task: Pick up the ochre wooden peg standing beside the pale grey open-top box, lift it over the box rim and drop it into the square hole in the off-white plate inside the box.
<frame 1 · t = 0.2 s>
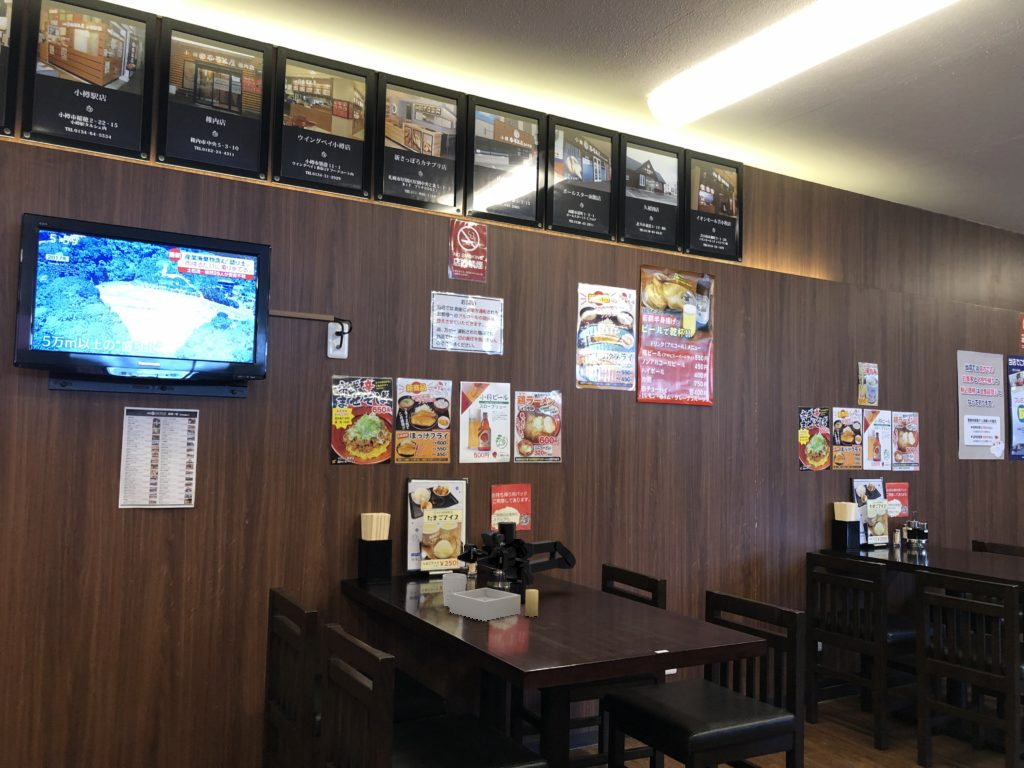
hand: (467, 559, 260), 17 cm above the table, tool horizontal, fingers open, 9 cm apart
peg: (531, 615, 255), on the table
socket box: (484, 613, 257), on the table
white cup: (453, 606, 268), on the table
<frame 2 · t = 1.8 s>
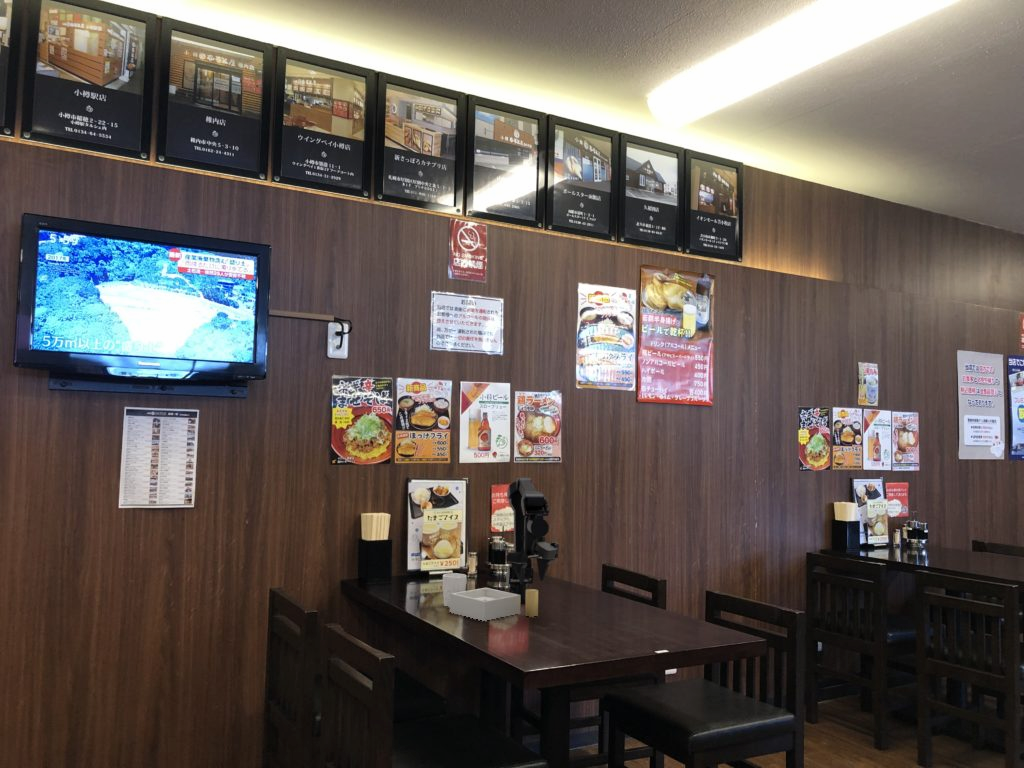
hand: (532, 582, 256), 10 cm above the table, tool pointing down, fingers open, 9 cm apart
nothing on the table moved.
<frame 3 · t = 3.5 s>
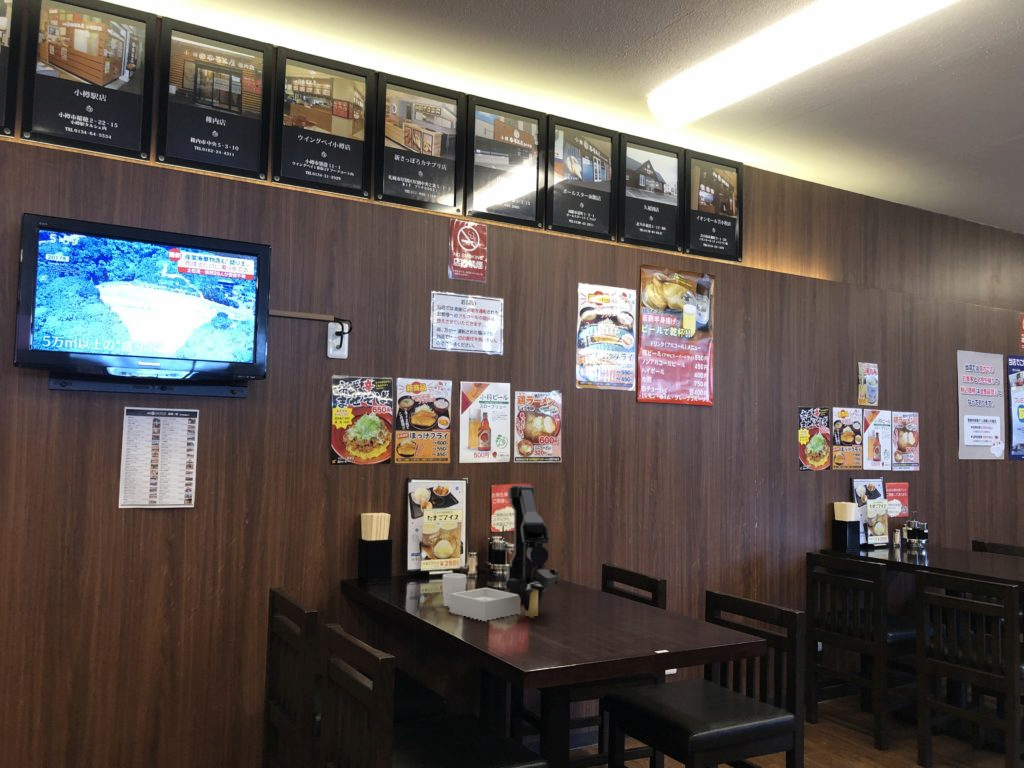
hand: (531, 609, 256), 2 cm above the table, tool pointing down, fingers closed on peg, 4 cm apart
peg: (531, 615, 255), on the table, touching gripper
everything else where it was.
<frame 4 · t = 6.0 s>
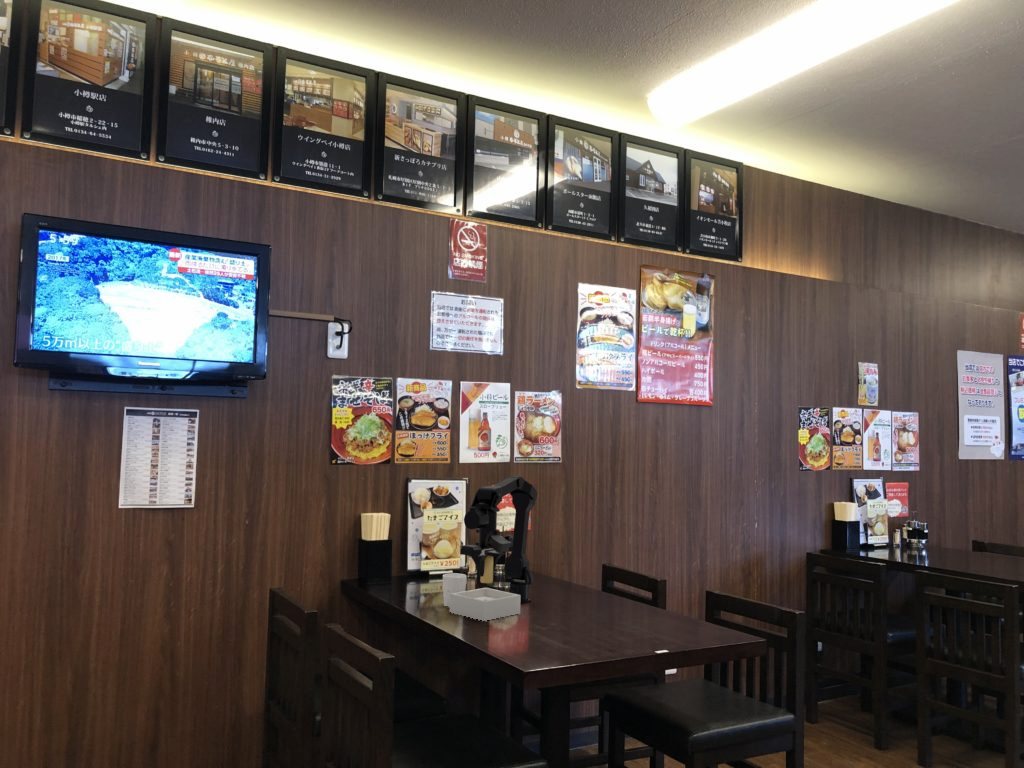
hand: (486, 575, 258), 12 cm above the table, tool pointing down, fingers closed on peg, 4 cm apart
peg: (486, 582, 258), point 10 cm above the table, touching gripper
everything else where it was.
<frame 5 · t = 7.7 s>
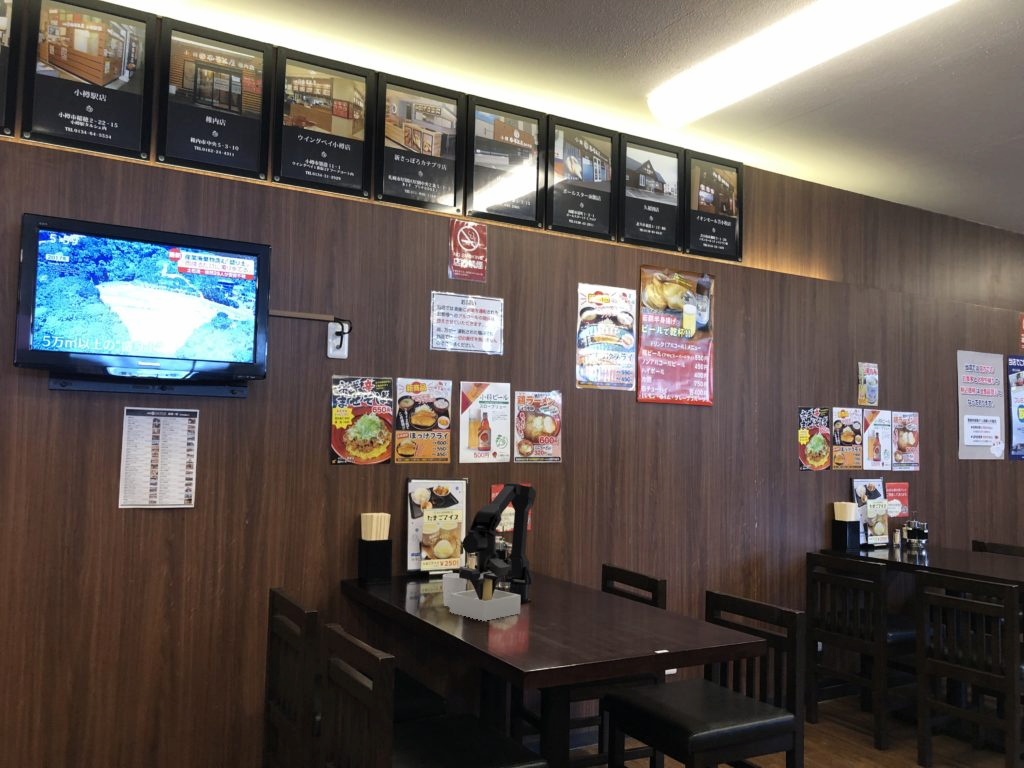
hand: (485, 598, 258), 5 cm above the table, tool pointing down, fingers closed on peg, 4 cm apart
peg: (485, 605, 258), point 3 cm above the table, touching gripper
everything else where it was.
when the fingers open (4 cm above the table, at t = 8.7 s): peg drops 2 cm, resting in socket box.
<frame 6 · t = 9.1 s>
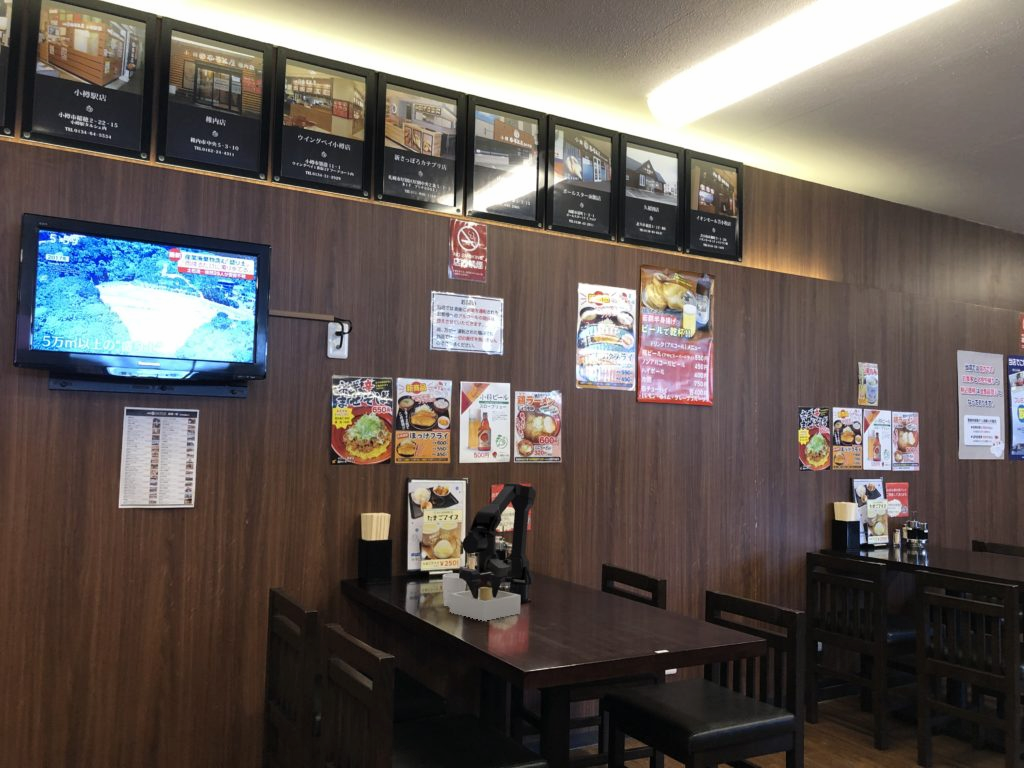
hand: (485, 599, 258), 4 cm above the table, tool pointing down, fingers open, 8 cm apart
peg: (485, 613, 257), resting in socket box
everything else where it was.
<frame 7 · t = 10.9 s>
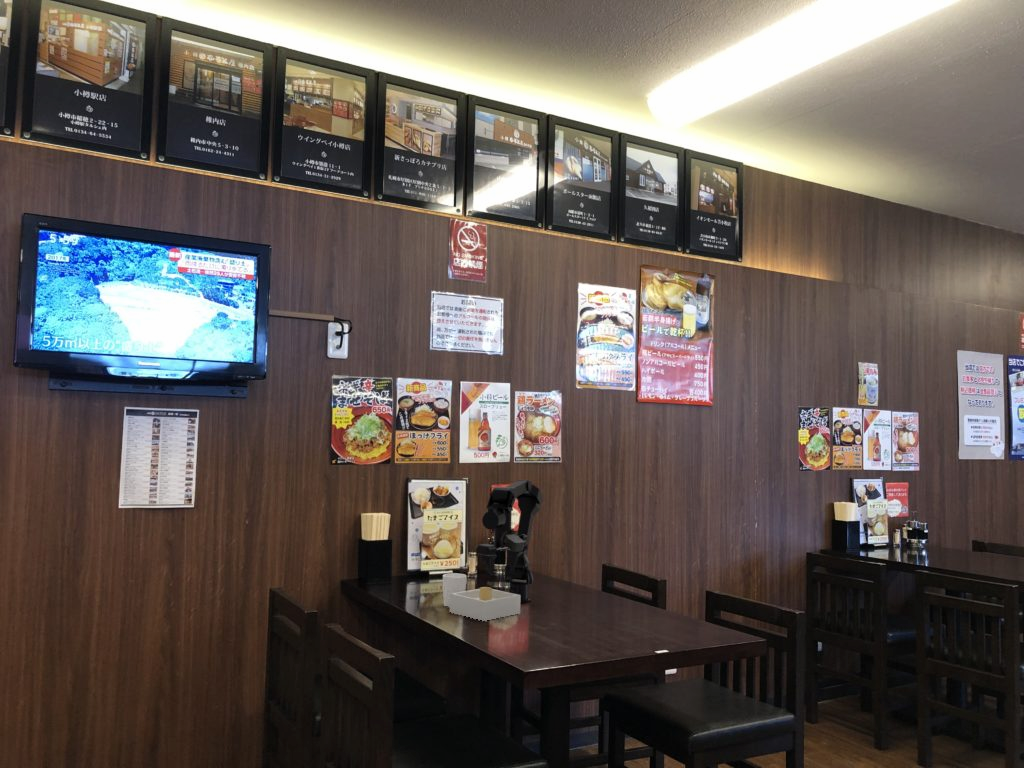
hand: (501, 573, 264), 12 cm above the table, tool pointing down, fingers open, 9 cm apart
nothing on the table moved.
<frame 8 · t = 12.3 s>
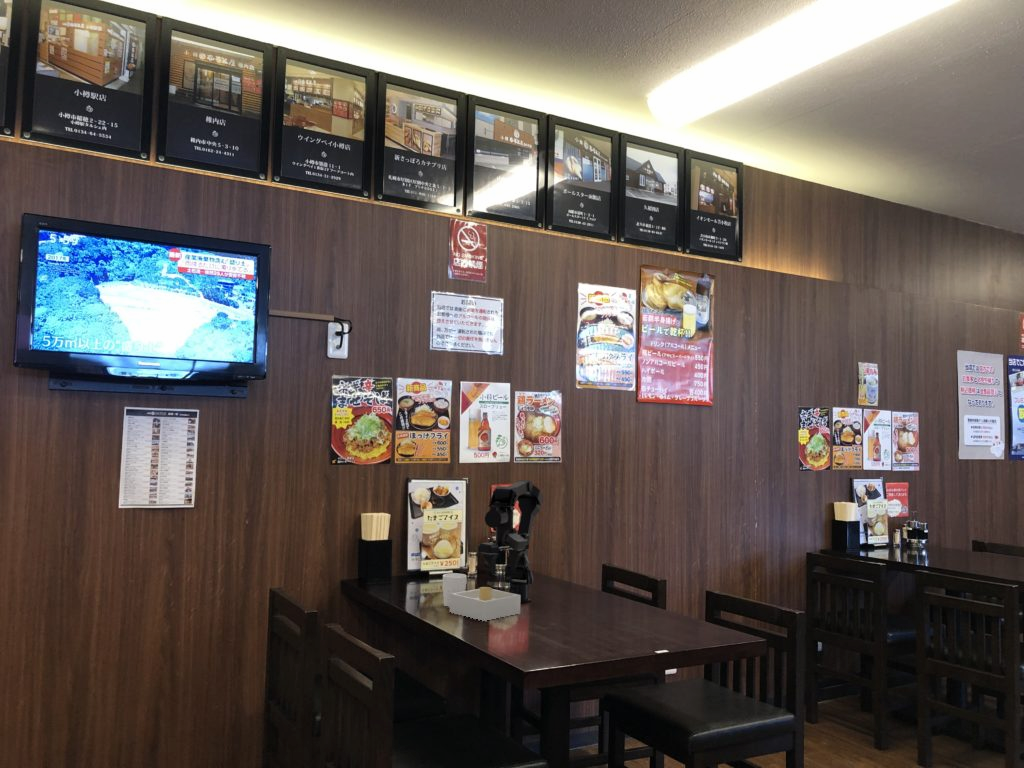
hand: (503, 572, 264), 12 cm above the table, tool pointing down, fingers open, 9 cm apart
nothing on the table moved.
at the end: peg 0.1 cm off-centre on the socket box, point 0.0 cm above the socket box's base; peg tilted 1°; the gripper is holding nothing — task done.
